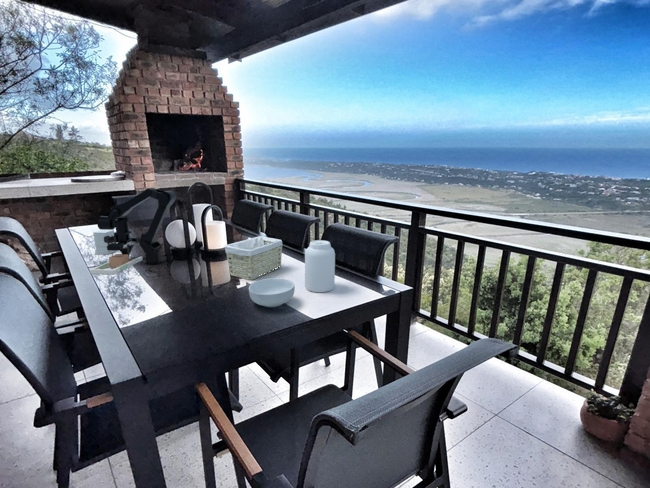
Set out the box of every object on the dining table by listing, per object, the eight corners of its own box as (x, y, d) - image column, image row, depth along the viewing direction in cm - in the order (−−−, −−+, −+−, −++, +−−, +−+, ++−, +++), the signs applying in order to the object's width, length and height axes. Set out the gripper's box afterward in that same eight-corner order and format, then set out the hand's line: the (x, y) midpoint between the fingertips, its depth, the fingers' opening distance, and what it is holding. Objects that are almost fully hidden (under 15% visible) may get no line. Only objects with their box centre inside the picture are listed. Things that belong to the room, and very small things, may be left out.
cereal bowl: (274, 291, 137) (273, 274, 135) (303, 302, 127) (303, 284, 125) (240, 303, 124) (239, 286, 123) (270, 317, 114) (269, 298, 112)
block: (129, 263, 170) (128, 254, 169) (122, 267, 164) (120, 257, 163) (118, 263, 170) (116, 253, 169) (110, 266, 164) (108, 257, 163)
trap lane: (142, 259, 177) (142, 256, 176) (113, 274, 154) (113, 270, 153) (122, 259, 177) (122, 255, 177) (90, 273, 154) (89, 269, 154)
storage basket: (250, 282, 147) (249, 250, 143) (224, 275, 155) (223, 244, 151) (284, 268, 167) (284, 239, 163) (260, 262, 175) (259, 235, 171)
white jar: (308, 294, 134) (308, 246, 129) (302, 283, 146) (302, 239, 141) (338, 291, 137) (339, 244, 133) (329, 281, 149) (330, 237, 144)
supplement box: (117, 251, 192) (114, 229, 189) (108, 254, 185) (105, 232, 182) (105, 250, 193) (102, 229, 190) (96, 254, 186) (92, 232, 183)
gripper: (118, 225, 177) (122, 254, 181) (93, 233, 159) (98, 264, 163) (139, 226, 177) (142, 254, 181) (116, 233, 159) (120, 265, 162)
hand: (126, 259), depth 172 cm, fingers closed
